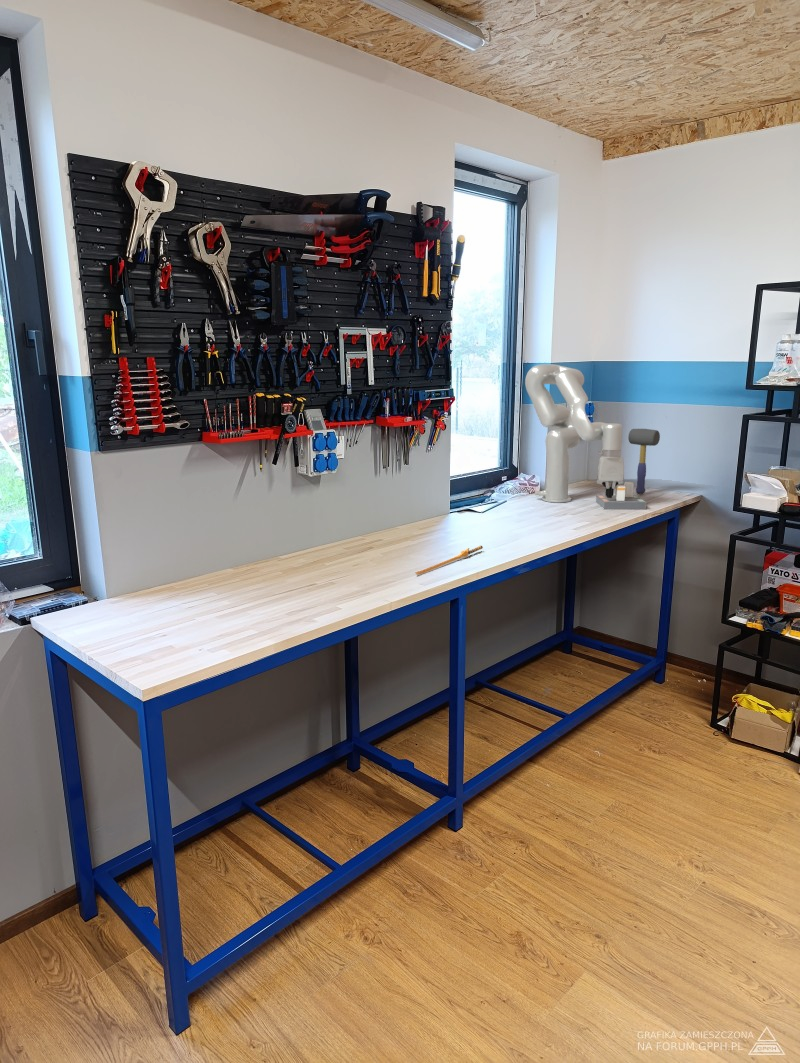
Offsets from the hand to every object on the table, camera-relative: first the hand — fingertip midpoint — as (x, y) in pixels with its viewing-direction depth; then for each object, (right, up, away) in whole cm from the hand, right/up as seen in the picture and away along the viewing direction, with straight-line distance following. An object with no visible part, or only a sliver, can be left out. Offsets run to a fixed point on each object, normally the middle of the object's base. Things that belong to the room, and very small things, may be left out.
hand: (609, 497), depth 301 cm
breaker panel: (+6, -3, +5) cm, 8 cm away
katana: (-72, -24, -79) cm, 110 cm away
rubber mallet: (+23, +3, +29) cm, 37 cm away
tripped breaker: (+4, -1, 0) cm, 4 cm away
